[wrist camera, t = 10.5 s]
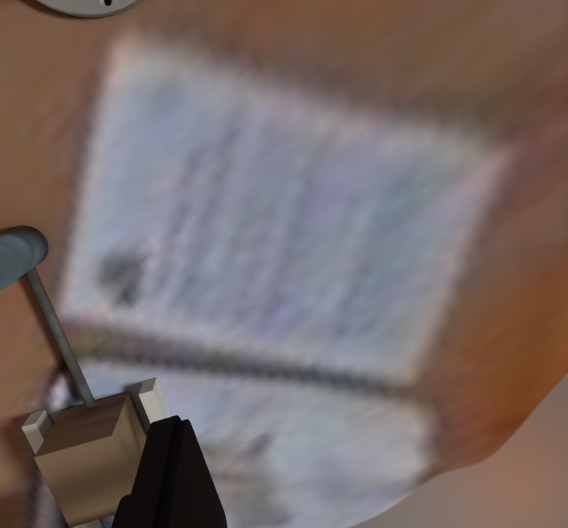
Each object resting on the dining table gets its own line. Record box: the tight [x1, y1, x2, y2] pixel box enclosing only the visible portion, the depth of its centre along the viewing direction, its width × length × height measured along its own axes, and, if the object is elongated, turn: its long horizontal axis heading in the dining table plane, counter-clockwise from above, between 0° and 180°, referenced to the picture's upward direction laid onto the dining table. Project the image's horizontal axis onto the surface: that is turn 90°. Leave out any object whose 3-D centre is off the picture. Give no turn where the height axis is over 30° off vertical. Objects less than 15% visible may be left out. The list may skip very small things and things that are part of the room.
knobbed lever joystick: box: [0, 226, 147, 528], centre depth 36 cm, size 23×6×6 cm, turn 14°
